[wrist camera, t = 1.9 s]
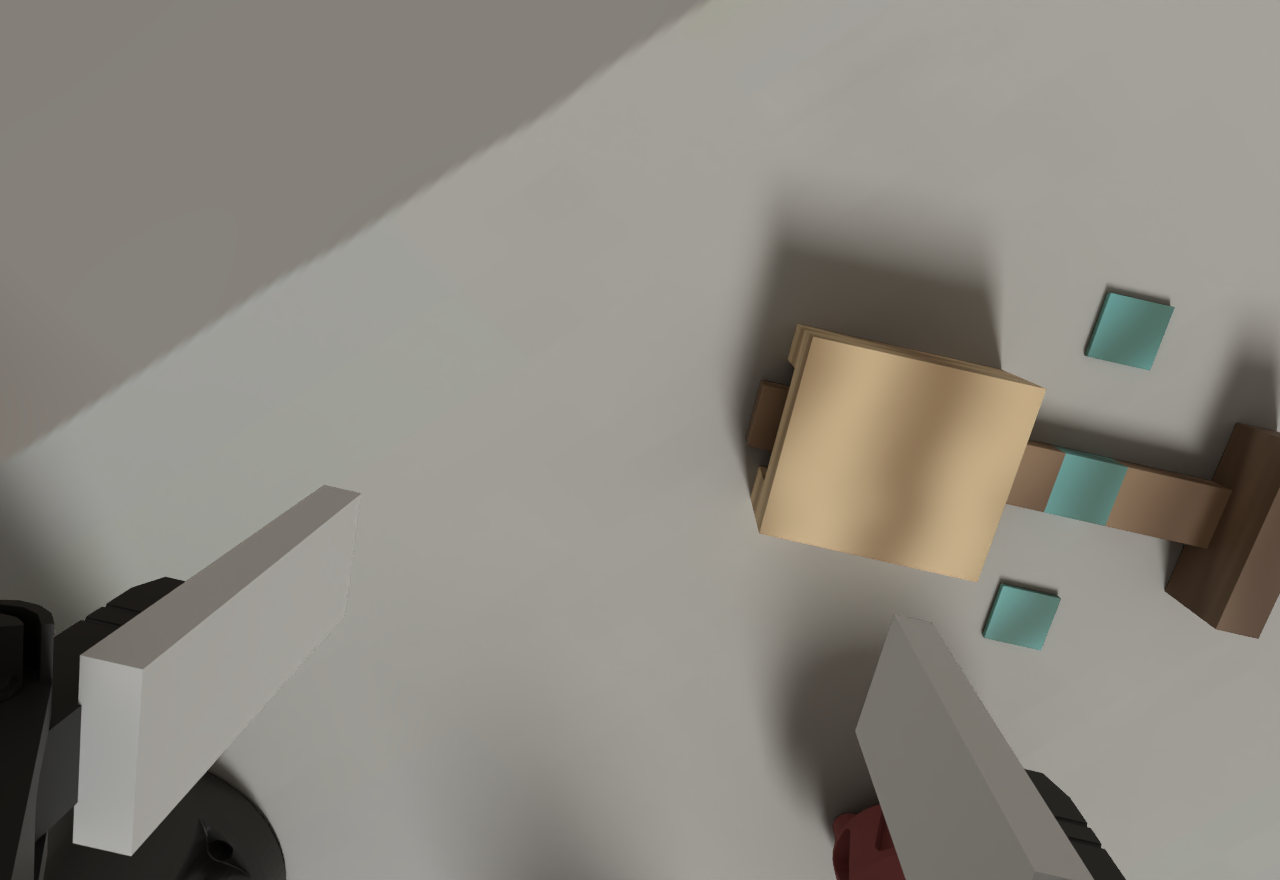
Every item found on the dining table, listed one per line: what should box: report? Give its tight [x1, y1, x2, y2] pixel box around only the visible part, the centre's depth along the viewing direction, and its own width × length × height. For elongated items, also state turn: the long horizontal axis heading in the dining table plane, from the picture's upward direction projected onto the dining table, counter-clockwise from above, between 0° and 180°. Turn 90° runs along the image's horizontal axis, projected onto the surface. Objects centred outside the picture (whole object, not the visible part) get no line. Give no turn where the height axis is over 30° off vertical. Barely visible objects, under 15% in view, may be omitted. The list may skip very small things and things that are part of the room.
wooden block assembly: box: [746, 293, 1280, 650], centre depth 37 cm, size 24×18×4 cm
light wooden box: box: [751, 324, 1046, 582], centre depth 37 cm, size 10×9×5 cm
